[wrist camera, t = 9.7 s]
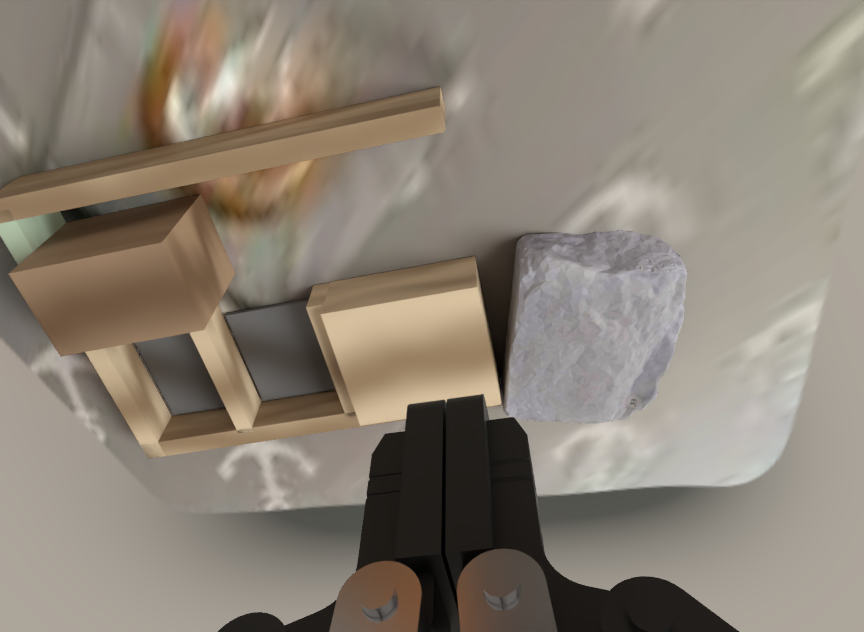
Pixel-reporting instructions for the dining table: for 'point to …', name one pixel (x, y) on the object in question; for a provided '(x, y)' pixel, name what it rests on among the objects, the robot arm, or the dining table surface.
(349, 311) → the box
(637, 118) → the dining table surface
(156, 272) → the walnut block
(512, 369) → the stone block
